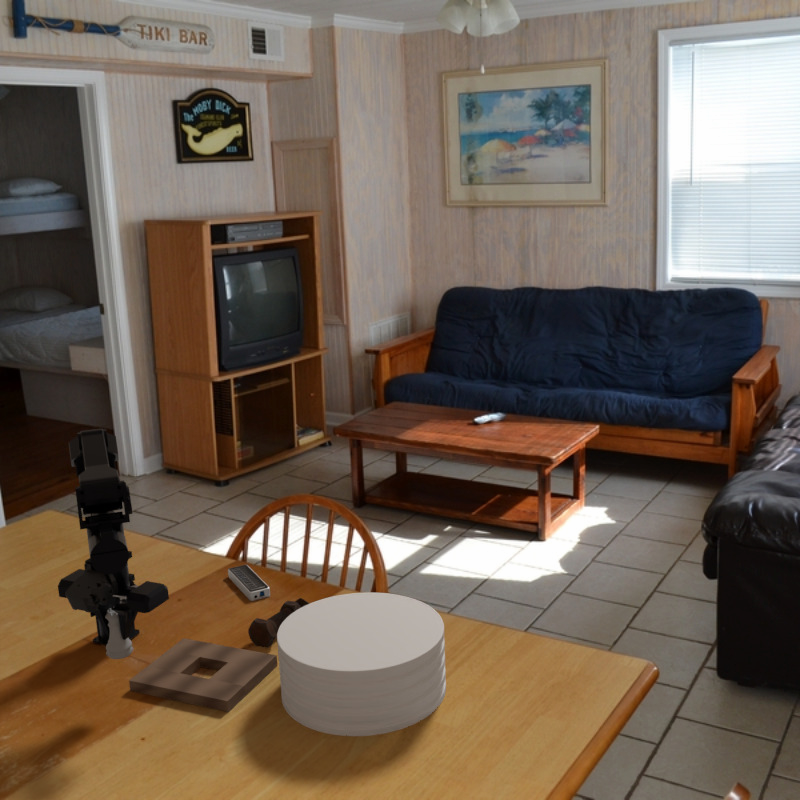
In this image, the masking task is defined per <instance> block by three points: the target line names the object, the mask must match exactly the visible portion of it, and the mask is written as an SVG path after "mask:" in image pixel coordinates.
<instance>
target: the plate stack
mask: <svg viewBox="0 0 800 800" xmlns="http://www.w3.org/2000/svg"><path fill="white" fill-rule="evenodd" d="M445 640H446V639H445V624H444V620H443V618H442V616H441V615H440V614H439V612H438V611H437V610H435V609H434V608H433V607H432V606H431V605H428V604H427V603H425V602H423V601H421V600H419V599H415V598H412V597H409V596H405V595H402V594H396V593H389V592H388V593H387V592H376V591H375V592H374V591H373V592H365V591H364V592H354V593H344V594H343V593H342V594H339V595H332V596H329V597H325V598H322V599H319V600H316V601H313V602H309V604H308V605H305V606H303V607H301V608H300V609H298V610H296V611H295V612H293V613H292V614H290V615H289V616H288V617H287V618H286V619H285V620H284V621H283V622H282V624H281V625H280V627H279V629H278V632H277V636H276V642H277V643H276V644H277V653H278V655H277V657H278V658H277V659H278V662H279V663H278V667H279V671H278V672H279V676H280V677H279V679H280V680H279V681H280V682H279V683H280V693H281V695H280V696H281V703H282V706H283V708H284V710H285V711H286V713H287V714H288V715H289V716H290V717H291V718H292V719H293V720H295V722H297V723H298V724H300V725H302V726H304V727H306V728H309V729H311V730H314V731H316V732H320V733H324V734H328V735H335V736H342V737H367V736H378V735H383V734H389V733H394V732H396V731H397V732H398V731H400V730H403V729H405V728H408V726H409V727H411V726H413V725H415V724H417V723H419V722H421V721H423V720H425V719H426V718H428V717H429V716H430V715H431V714H433V713H434V712H435V711H436V710H437V709H438V708H439V707H438V706H440V705H441V704H442V702H443V700H444V698H445V696H446V692H447V679H446V676H447V675H446V673H447V671H446V669H447V668H446V651H445V649H446V646H445V645H446V641H445ZM437 707H438V708H437ZM435 709H436V710H435ZM432 712H433V713H432ZM420 720H421V721H420ZM377 734H378V735H377ZM346 735H347V736H346Z"/></svg>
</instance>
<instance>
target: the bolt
mask: <svg viewBox="0 0 800 800" xmlns="http://www.w3.org/2000/svg"><path fill="white" fill-rule="evenodd" d="M308 604H310V602H309V601H307V600H305V599H303V598H302V597H300V598H298V599H296V600H295V601H294V600H293V601H292V600H287V601H284V603H283V604H282V606H281V607H280V609H279V611H278V612H277V613H275V614H274V615H272V616H271V617H269V618H267V619H263V618H259V617H257V618H255V619H253V621H251V624H250V625H249V627H248V630H247V632H248V636H249V639H250V640H251V642H252V643H253V645H255V646H256V647H260V648H267V649H268V648H269V647H270V646H272V645H273V643H274V642H275V640H276V639H277V632H278V629H279V627H280V625H281V624H282V622H283V621H284V620H285V619H286V618H287V617H288V616H289V615H290V614H292V613H293V612H295V611H296V610H298V609H300V608H301V607H303V606H305V605H308Z"/></svg>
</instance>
